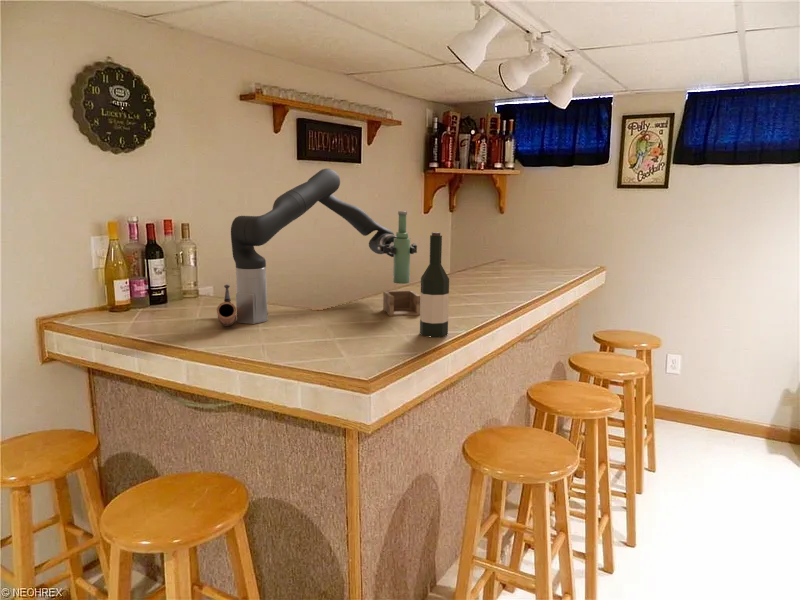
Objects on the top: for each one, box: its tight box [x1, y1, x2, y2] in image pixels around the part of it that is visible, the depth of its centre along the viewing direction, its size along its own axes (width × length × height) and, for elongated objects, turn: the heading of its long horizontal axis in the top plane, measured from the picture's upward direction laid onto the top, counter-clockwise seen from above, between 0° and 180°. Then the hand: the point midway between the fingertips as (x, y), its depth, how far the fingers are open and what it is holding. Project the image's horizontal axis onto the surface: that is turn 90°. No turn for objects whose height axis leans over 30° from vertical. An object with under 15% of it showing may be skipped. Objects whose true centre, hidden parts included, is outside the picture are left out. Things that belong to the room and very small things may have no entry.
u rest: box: [382, 290, 421, 317], centre depth 204 cm, size 10×10×7 cm
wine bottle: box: [419, 231, 450, 338], centre depth 173 cm, size 8×8×30 cm
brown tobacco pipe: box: [216, 284, 237, 327], centre depth 186 cm, size 5×29×10 cm, turn 15°
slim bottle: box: [392, 210, 411, 285], centre depth 201 cm, size 6×6×24 cm
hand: (403, 251), depth 199 cm, fingers closed on slim bottle, 5 cm apart
